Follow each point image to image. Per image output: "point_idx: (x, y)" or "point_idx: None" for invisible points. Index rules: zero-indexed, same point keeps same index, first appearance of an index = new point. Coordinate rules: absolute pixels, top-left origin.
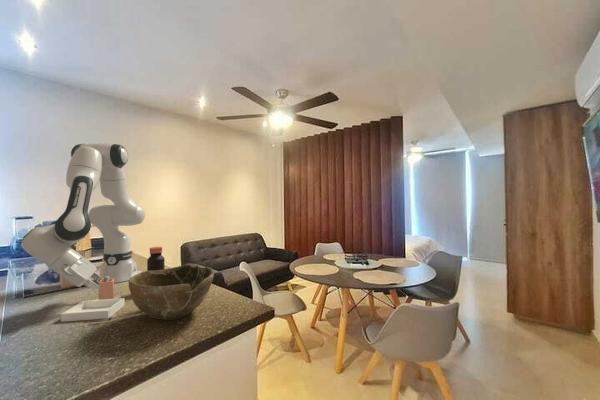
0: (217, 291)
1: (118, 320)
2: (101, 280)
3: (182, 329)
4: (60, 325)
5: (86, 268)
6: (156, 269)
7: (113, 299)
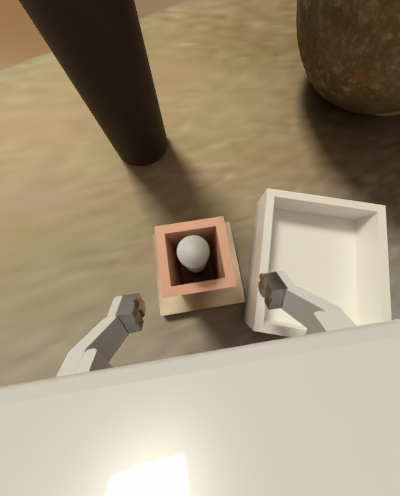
0: (202, 9)
1: (354, 194)
2: (175, 288)
3: None
4: None
5: (209, 487)
6: (137, 15)
7: (271, 220)
